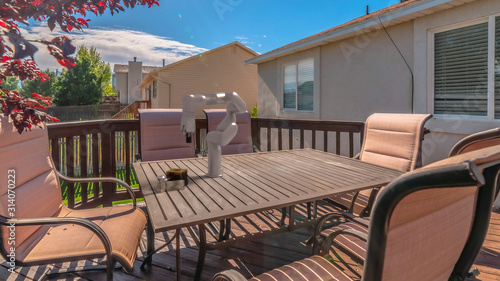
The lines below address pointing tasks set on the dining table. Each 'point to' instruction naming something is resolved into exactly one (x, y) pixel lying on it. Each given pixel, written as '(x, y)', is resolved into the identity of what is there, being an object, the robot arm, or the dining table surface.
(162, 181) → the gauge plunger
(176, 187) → the centring jig
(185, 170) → the candle
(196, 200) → the dining table surface
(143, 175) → the dining table surface
